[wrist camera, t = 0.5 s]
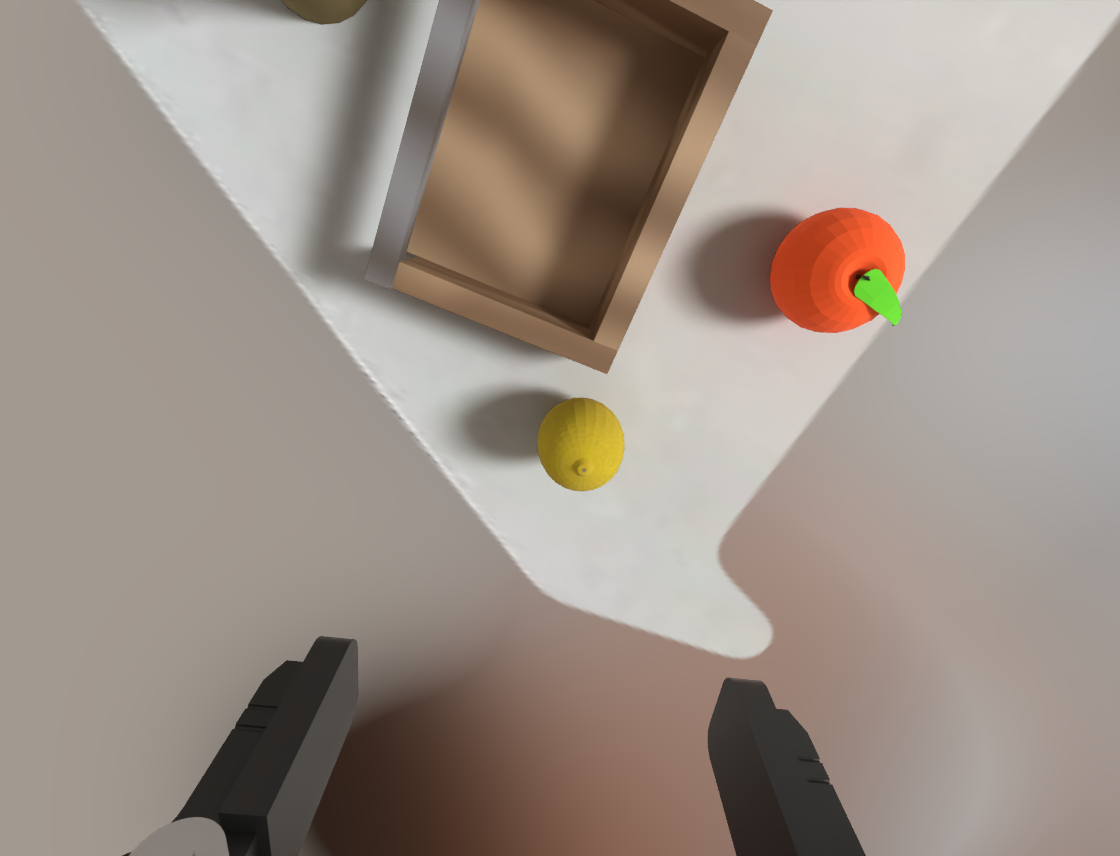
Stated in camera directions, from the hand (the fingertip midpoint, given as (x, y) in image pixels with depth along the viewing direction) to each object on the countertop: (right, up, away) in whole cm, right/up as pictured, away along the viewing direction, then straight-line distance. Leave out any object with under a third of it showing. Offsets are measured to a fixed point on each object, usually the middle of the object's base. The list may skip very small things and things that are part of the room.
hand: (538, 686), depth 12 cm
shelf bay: (0, +21, +20) cm, 29 cm away
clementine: (+17, +16, +23) cm, 32 cm away
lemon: (+2, +6, +26) cm, 27 cm away
